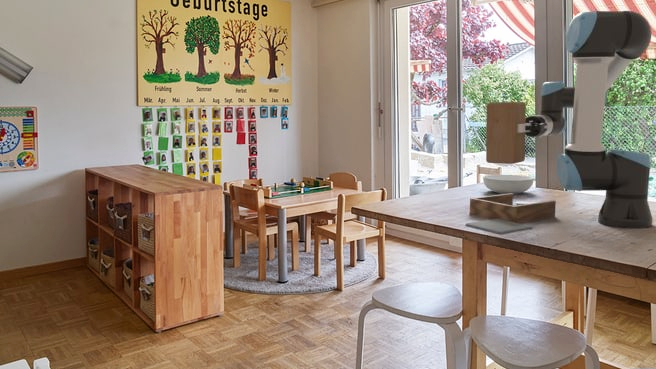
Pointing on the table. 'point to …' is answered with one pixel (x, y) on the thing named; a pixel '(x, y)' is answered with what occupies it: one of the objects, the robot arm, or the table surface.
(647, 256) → the table surface
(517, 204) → the offcut slab upper
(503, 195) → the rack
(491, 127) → the wooden block
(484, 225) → the mat
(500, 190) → the serving bowl
